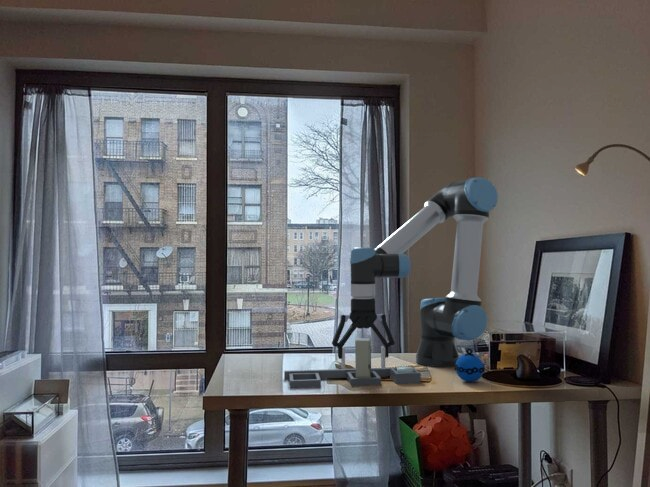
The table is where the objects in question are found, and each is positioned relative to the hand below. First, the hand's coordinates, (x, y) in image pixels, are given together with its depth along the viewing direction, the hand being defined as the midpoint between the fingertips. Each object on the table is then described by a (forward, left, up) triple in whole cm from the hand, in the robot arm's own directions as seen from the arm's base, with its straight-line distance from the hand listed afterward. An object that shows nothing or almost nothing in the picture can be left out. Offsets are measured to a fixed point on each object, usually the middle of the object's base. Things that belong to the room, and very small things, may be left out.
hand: (363, 368), depth 149 cm
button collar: (-13, 0, -4) cm, 14 cm away
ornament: (-32, +4, -4) cm, 33 cm away
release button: (-13, 0, -3) cm, 13 cm away
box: (0, 0, -4) cm, 4 cm away
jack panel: (+5, -1, -4) cm, 6 cm away
